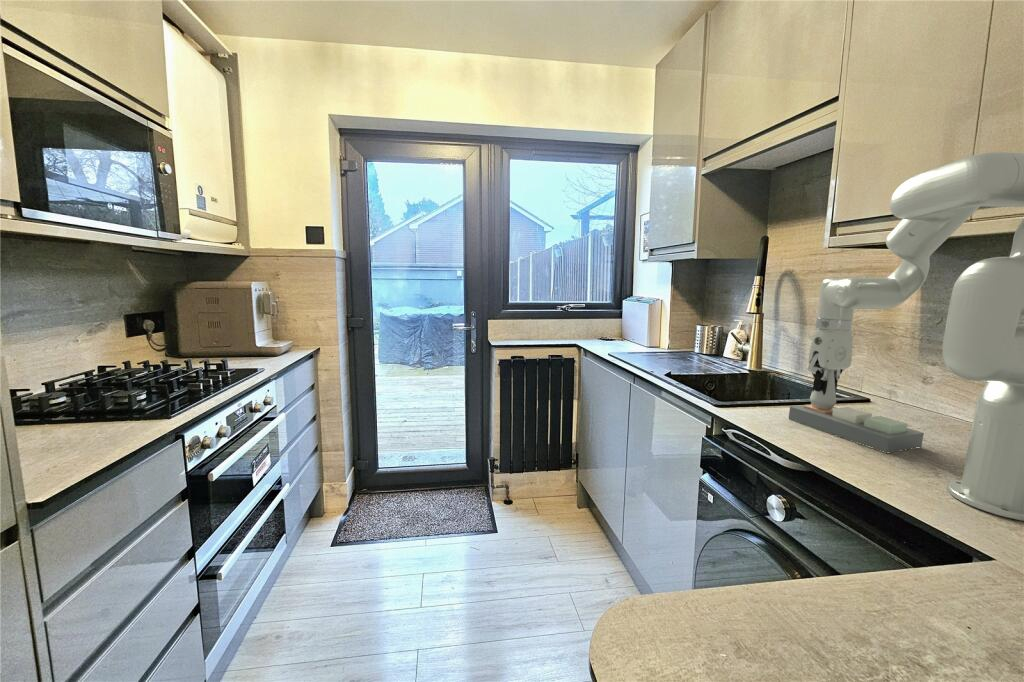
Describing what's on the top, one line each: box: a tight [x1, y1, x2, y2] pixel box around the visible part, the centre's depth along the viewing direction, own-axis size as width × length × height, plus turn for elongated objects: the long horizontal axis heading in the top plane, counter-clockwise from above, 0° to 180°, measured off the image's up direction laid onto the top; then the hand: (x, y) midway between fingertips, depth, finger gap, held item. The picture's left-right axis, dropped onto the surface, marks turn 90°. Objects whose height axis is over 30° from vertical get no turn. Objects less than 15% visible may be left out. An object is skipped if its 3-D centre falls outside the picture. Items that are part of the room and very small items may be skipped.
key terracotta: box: [804, 404, 834, 414], centre depth 116 cm, size 6×6×4 cm
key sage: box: [864, 415, 908, 435], centre depth 101 cm, size 6×6×4 cm
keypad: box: [788, 403, 925, 454], centre depth 109 cm, size 24×12×4 cm, turn 18°
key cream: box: [832, 406, 873, 424], centre depth 109 cm, size 6×6×4 cm
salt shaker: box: [809, 365, 837, 410], centre depth 115 cm, size 6×6×13 cm
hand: (824, 392), depth 115 cm, fingers closed on salt shaker, 3 cm apart
